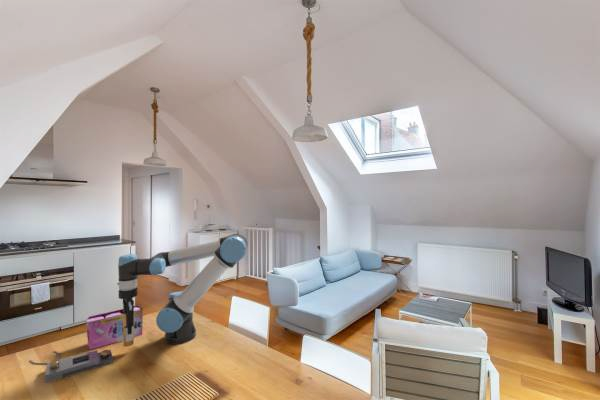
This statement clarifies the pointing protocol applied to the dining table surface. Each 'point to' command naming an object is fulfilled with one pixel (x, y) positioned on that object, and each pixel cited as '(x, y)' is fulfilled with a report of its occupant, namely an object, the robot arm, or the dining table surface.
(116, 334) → the gum box
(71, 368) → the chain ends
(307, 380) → the dining table surface
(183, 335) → the robot arm
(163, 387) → the dining table surface
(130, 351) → the dining table surface
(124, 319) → the pin
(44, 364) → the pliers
